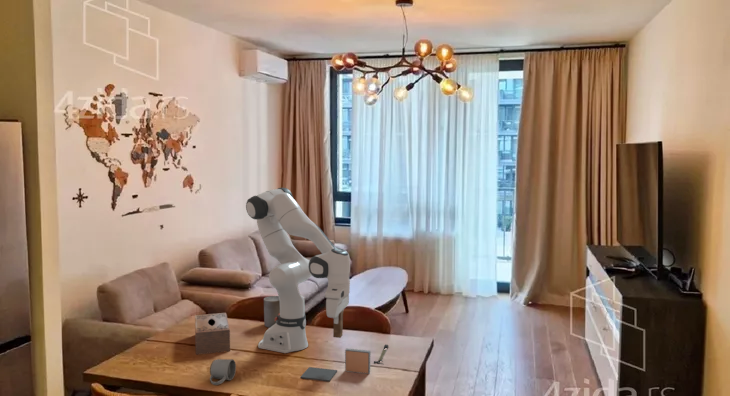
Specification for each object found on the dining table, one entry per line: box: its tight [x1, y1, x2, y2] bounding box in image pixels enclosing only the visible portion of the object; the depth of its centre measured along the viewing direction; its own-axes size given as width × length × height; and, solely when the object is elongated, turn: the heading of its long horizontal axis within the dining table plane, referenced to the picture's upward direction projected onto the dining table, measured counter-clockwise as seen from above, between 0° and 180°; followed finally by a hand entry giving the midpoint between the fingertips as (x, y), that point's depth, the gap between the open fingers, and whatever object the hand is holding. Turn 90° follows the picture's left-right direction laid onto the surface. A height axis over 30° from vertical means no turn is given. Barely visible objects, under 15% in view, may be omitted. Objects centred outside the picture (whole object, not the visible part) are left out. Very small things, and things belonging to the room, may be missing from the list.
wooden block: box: [332, 309, 344, 339], centre depth 233 cm, size 3×3×14 cm
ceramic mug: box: [209, 358, 237, 386], centre depth 220 cm, size 11×8×8 cm
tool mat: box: [300, 366, 338, 383], centre depth 226 cm, size 12×10×1 cm
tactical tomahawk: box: [373, 344, 389, 365], centre depth 247 cm, size 21×7×1 cm, turn 166°
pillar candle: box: [263, 295, 280, 329], centre depth 286 cm, size 10×10×15 cm
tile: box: [344, 348, 371, 375], centre depth 229 cm, size 10×2×9 cm, turn 76°
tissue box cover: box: [194, 312, 231, 355], centre depth 260 cm, size 26×14×10 cm, turn 17°
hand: (338, 321), depth 233 cm, fingers closed on wooden block, 3 cm apart
